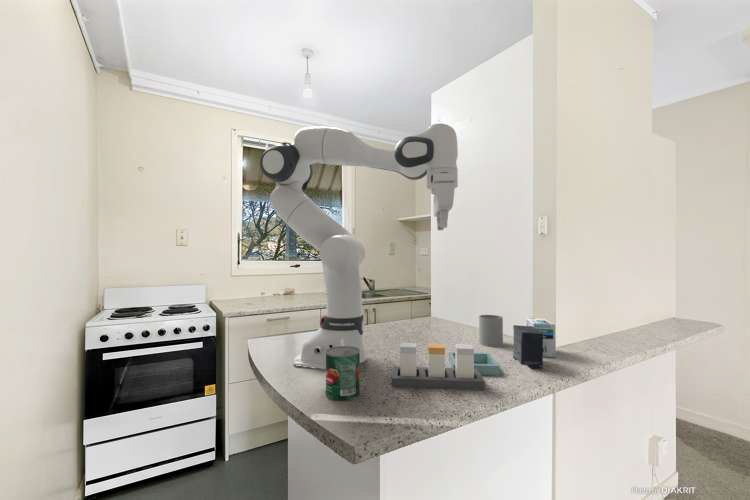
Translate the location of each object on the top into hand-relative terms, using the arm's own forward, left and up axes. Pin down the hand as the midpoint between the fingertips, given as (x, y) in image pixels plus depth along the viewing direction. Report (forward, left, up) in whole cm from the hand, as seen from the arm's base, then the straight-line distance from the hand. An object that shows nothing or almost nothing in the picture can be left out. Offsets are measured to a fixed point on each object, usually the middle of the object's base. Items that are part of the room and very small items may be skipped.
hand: (442, 229), depth 99 cm
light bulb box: (+34, +21, -41) cm, 57 cm away
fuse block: (-3, -12, -41) cm, 42 cm away
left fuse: (-10, -12, -39) cm, 42 cm away
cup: (+20, +31, -41) cm, 55 cm away
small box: (+26, +9, -41) cm, 49 cm away
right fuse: (+4, -12, -40) cm, 41 cm away
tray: (+8, 0, -41) cm, 41 cm away
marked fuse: (-3, -12, -40) cm, 41 cm away
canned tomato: (-25, -22, -41) cm, 52 cm away
